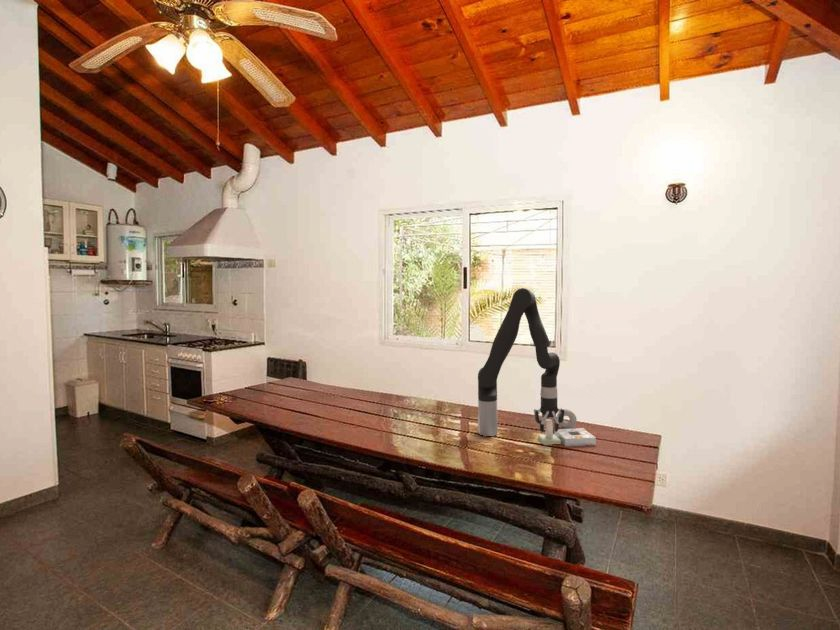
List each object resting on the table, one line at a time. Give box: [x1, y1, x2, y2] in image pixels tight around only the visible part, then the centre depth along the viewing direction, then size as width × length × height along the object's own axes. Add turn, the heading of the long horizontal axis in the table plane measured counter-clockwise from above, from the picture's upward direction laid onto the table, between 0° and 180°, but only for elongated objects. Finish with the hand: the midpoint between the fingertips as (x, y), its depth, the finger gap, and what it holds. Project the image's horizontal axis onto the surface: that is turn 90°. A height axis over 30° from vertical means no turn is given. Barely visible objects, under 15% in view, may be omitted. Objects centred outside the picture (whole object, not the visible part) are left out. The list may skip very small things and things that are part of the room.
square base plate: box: [537, 433, 562, 446], centre depth 211 cm, size 8×9×2 cm
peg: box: [544, 418, 554, 439], centre depth 211 cm, size 3×3×8 cm
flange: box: [554, 427, 597, 447], centre depth 212 cm, size 14×14×4 cm
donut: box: [556, 408, 578, 429], centre depth 230 cm, size 10×4×10 cm, turn 51°
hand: (549, 431), depth 211 cm, fingers open, 5 cm apart
